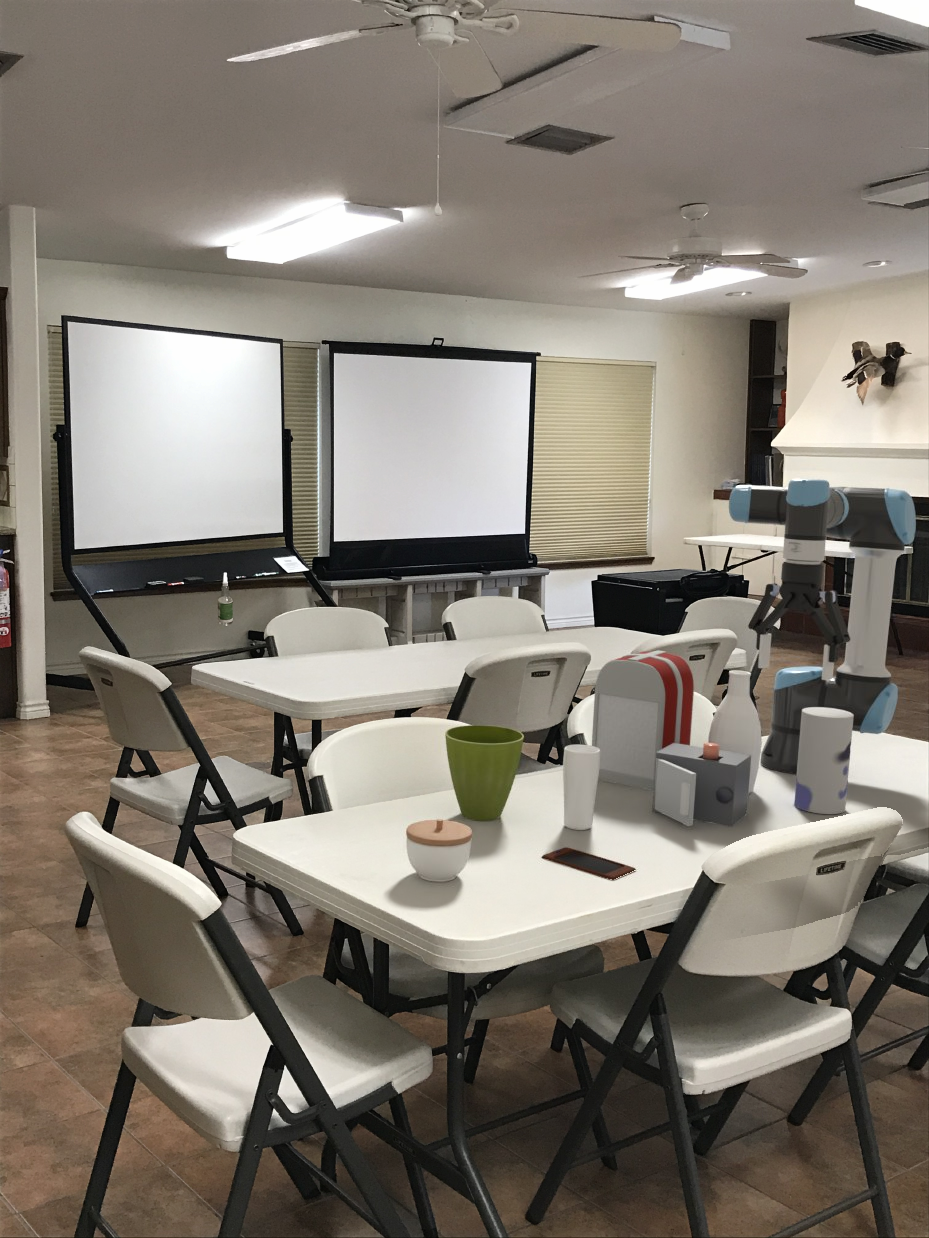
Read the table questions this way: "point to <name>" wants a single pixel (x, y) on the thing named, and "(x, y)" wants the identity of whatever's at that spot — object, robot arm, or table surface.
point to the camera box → (714, 782)
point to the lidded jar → (438, 848)
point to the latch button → (710, 751)
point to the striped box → (640, 714)
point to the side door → (674, 791)
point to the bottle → (738, 723)
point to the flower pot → (483, 768)
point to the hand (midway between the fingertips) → (794, 673)
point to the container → (823, 760)
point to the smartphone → (588, 863)
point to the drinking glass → (580, 785)
